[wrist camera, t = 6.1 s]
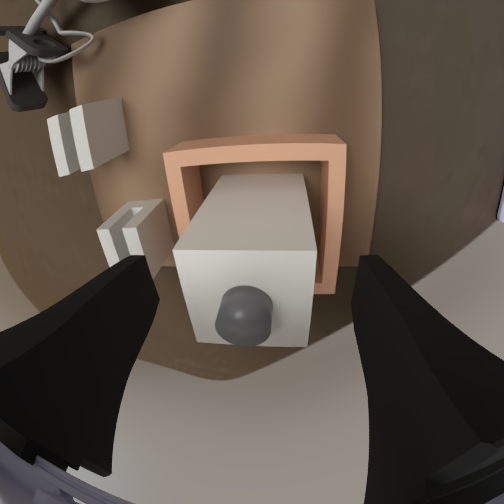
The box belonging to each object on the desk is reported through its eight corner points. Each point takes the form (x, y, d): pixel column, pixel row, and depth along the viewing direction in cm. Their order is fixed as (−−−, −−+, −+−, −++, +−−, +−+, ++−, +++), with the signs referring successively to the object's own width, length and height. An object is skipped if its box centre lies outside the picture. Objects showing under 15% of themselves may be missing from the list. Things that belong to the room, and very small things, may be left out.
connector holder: (335, 134, 12) (346, 143, 10) (329, 265, 16) (334, 293, 14) (182, 141, 13) (162, 152, 11) (203, 265, 17) (192, 292, 15)
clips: (146, 90, 11) (109, 94, 9) (174, 245, 16) (152, 280, 13) (87, 108, 12) (47, 119, 9) (120, 246, 17) (94, 278, 14)
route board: (368, 1, 8) (373, -4, 8) (363, 257, 16) (366, 266, 16) (81, 44, 11) (71, 44, 10) (124, 257, 18) (118, 265, 18)
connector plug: (303, 173, 13) (320, 273, 6) (301, 244, 15) (307, 369, 9) (221, 175, 14) (159, 270, 7) (229, 244, 16) (190, 362, 9)
